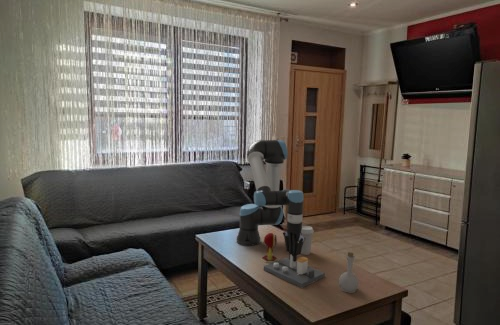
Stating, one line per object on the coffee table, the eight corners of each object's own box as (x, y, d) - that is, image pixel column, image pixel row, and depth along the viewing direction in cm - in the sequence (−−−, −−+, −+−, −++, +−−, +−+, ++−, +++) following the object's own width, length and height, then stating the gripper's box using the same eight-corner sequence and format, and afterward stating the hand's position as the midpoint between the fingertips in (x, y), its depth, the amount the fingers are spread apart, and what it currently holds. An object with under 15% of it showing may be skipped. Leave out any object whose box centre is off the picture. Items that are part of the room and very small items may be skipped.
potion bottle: (334, 289, 160) (337, 251, 157) (345, 283, 166) (347, 246, 164) (352, 296, 153) (354, 257, 151) (362, 289, 160) (364, 252, 158)
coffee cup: (312, 250, 207) (313, 225, 205) (313, 256, 198) (314, 230, 196) (296, 249, 208) (297, 224, 206) (296, 255, 199) (297, 229, 197)
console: (263, 269, 178) (263, 260, 178) (286, 260, 190) (287, 252, 190) (301, 287, 160) (302, 277, 159) (324, 276, 172) (325, 267, 171)
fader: (296, 272, 171) (297, 258, 170) (302, 269, 174) (302, 256, 173) (301, 274, 168) (302, 260, 167) (307, 272, 171) (308, 258, 171)
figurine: (279, 262, 187) (280, 236, 185) (260, 262, 187) (261, 235, 185) (277, 256, 196) (278, 231, 194) (260, 256, 196) (261, 230, 194)
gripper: (279, 219, 175) (278, 264, 178) (300, 226, 165) (297, 273, 168) (289, 217, 180) (287, 260, 183) (309, 223, 170) (307, 268, 173)
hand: (292, 266), depth 176 cm, fingers closed
